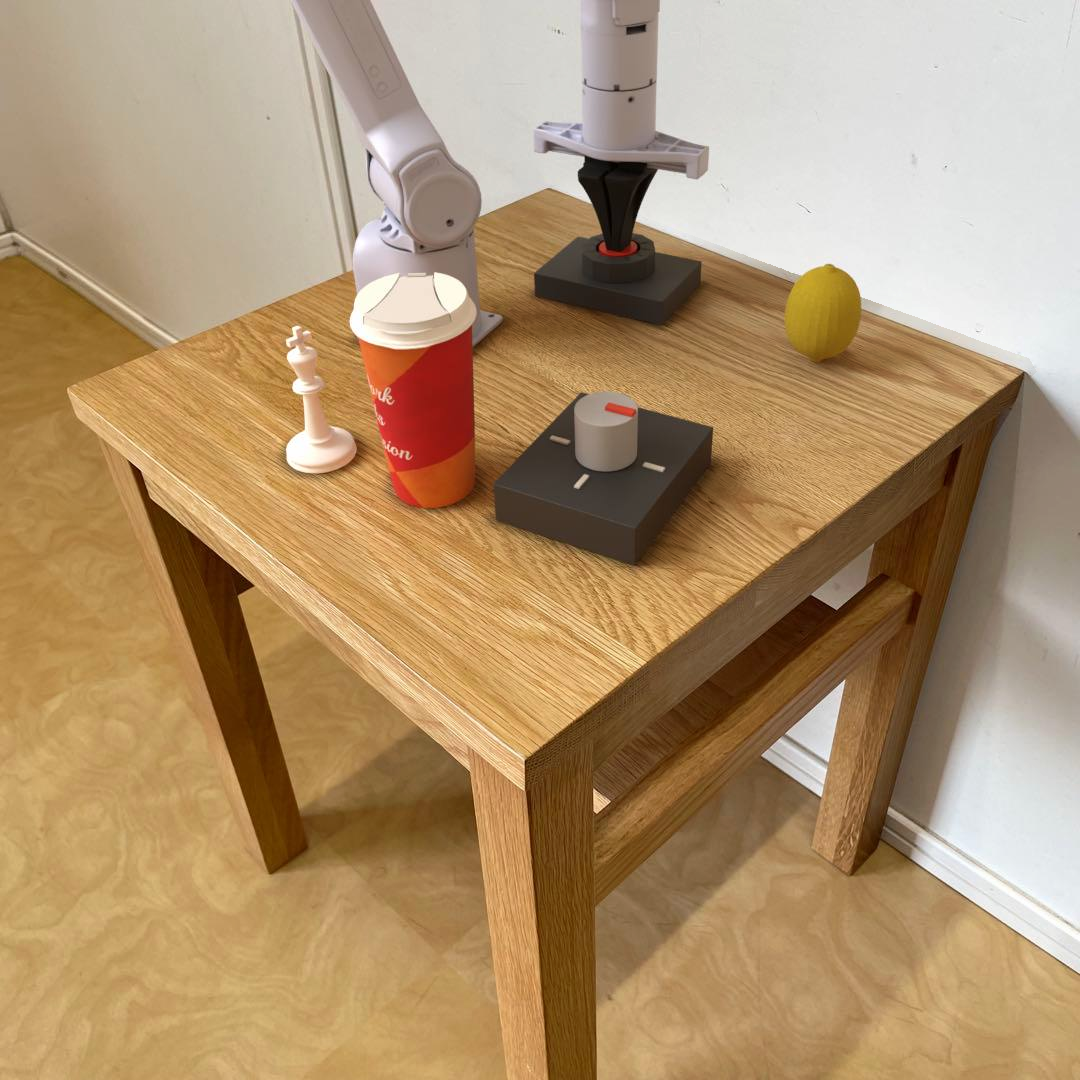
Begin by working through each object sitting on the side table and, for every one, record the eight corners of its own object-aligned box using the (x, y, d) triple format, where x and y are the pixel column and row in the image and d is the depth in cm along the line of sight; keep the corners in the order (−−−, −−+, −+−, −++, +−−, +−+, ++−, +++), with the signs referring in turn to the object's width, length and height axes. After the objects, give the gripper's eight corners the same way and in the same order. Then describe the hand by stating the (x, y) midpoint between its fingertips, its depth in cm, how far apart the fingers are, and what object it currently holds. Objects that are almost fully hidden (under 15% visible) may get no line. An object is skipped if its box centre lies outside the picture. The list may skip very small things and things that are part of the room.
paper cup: (386, 451, 79) (357, 268, 70) (494, 449, 78) (479, 265, 69) (369, 520, 73) (335, 330, 64) (486, 519, 72) (469, 327, 63)
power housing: (534, 296, 96) (532, 253, 93) (578, 258, 101) (577, 216, 98) (662, 325, 91) (663, 280, 88) (700, 284, 96) (703, 241, 94)
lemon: (853, 382, 83) (869, 284, 78) (778, 377, 84) (789, 280, 79) (852, 345, 87) (868, 250, 82) (780, 340, 88) (791, 246, 83)
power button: (592, 269, 94) (592, 250, 93) (609, 254, 96) (609, 235, 95) (626, 277, 93) (626, 257, 92) (643, 261, 95) (643, 242, 94)
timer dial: (564, 462, 72) (563, 412, 69) (591, 430, 74) (591, 381, 72) (621, 478, 70) (621, 428, 68) (646, 445, 73) (648, 395, 70)
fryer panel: (495, 520, 72) (492, 481, 70) (581, 427, 80) (581, 389, 78) (634, 566, 68) (635, 526, 66) (711, 463, 76) (713, 424, 74)
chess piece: (273, 453, 79) (244, 328, 73) (331, 425, 81) (307, 302, 75) (312, 482, 76) (285, 355, 70) (370, 452, 79) (349, 326, 72)
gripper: (728, 75, 84) (717, 243, 93) (560, 54, 90) (565, 214, 99) (691, 104, 80) (683, 278, 88) (516, 80, 86) (525, 245, 94)
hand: (618, 246), depth 93 cm, fingers closed, pressing on power button
